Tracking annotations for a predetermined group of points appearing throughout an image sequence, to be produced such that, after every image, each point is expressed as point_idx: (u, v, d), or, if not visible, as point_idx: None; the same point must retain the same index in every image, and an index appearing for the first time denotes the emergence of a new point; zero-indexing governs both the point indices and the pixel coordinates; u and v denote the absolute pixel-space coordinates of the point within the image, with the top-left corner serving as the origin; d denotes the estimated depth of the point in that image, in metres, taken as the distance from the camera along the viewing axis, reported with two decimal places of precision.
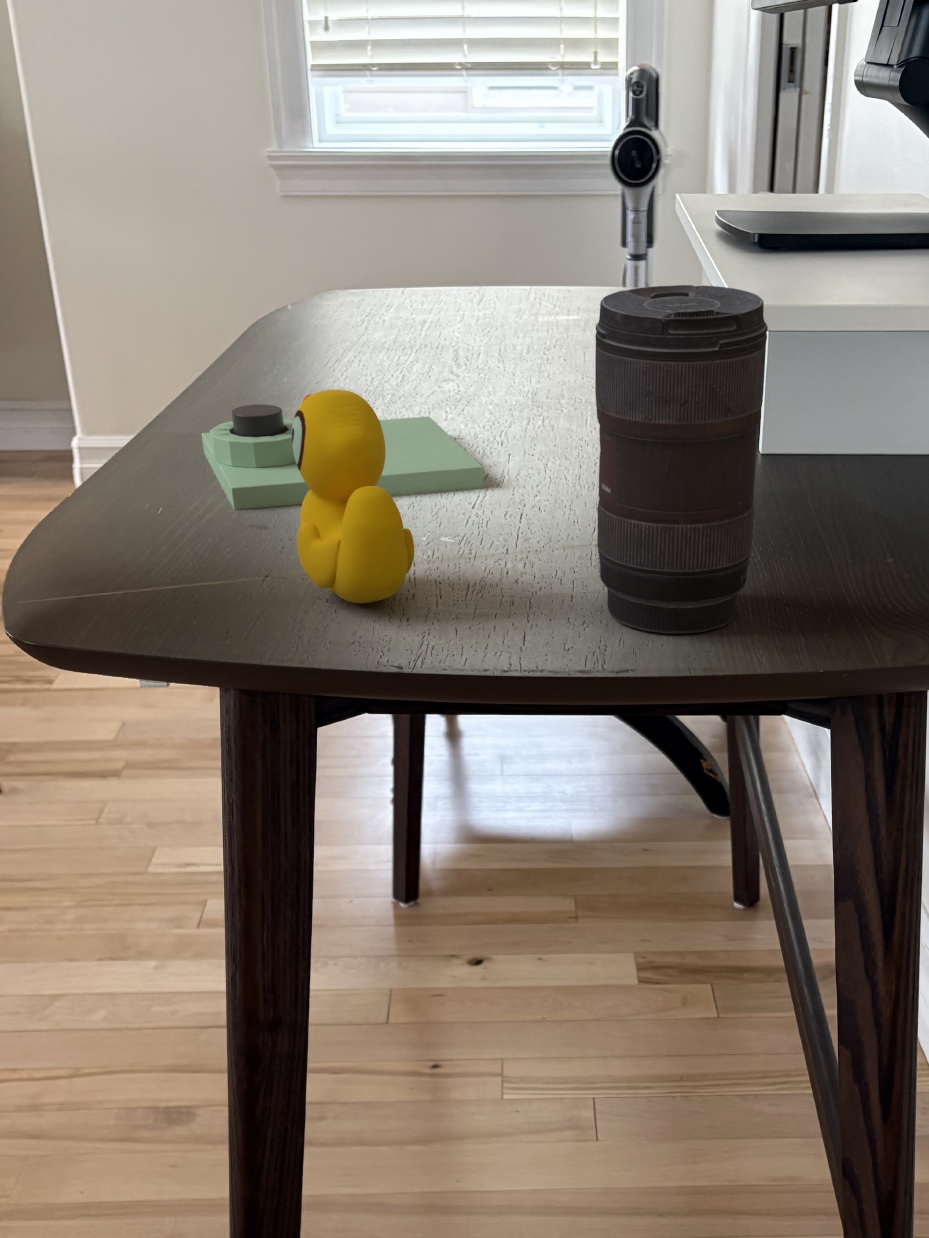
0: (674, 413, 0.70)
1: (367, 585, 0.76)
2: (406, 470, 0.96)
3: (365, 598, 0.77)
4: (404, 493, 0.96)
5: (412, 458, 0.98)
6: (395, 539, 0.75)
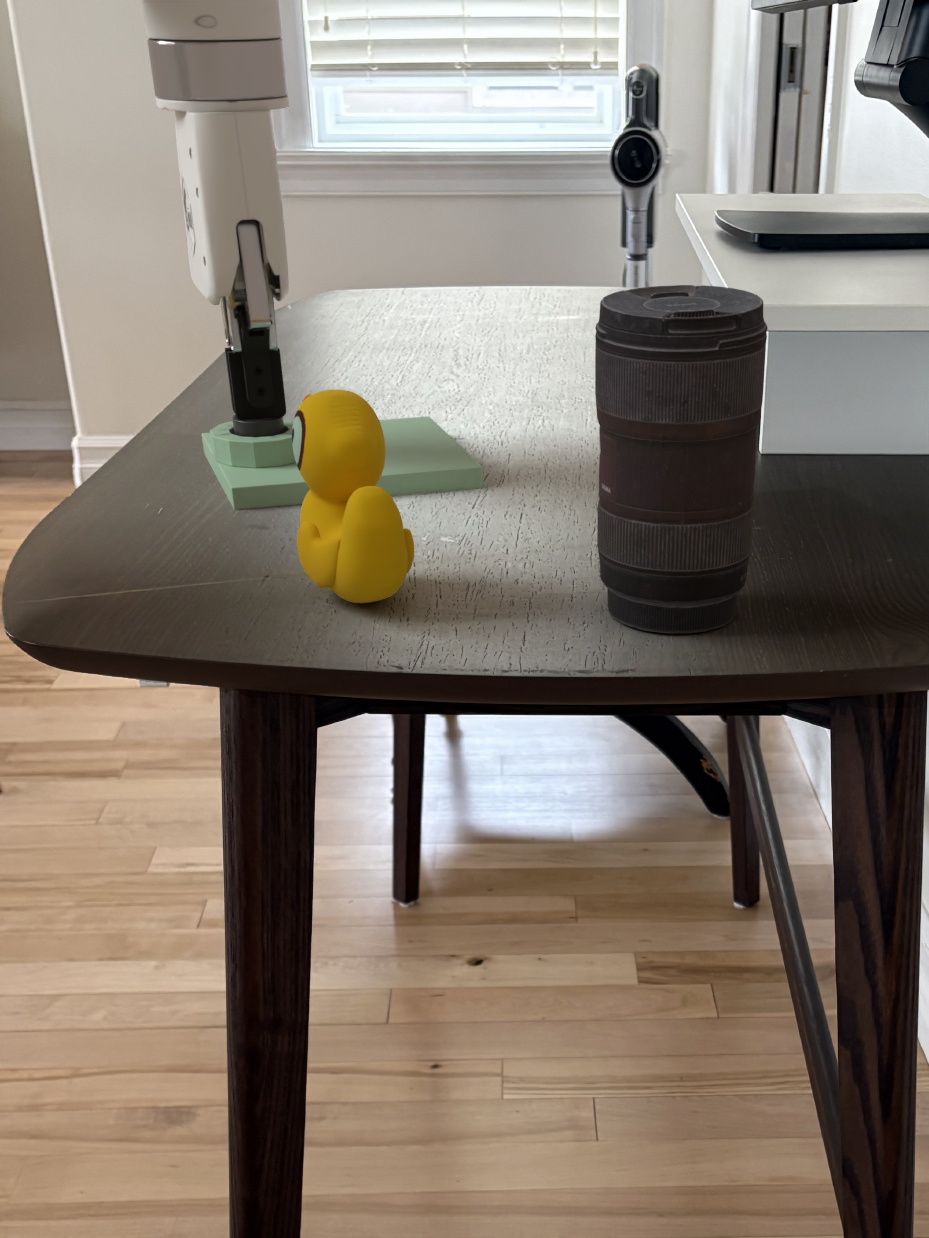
0: (674, 412, 0.70)
1: (367, 585, 0.76)
2: (406, 470, 0.96)
3: (365, 598, 0.77)
4: (404, 493, 0.96)
5: (412, 458, 0.98)
6: (395, 539, 0.75)
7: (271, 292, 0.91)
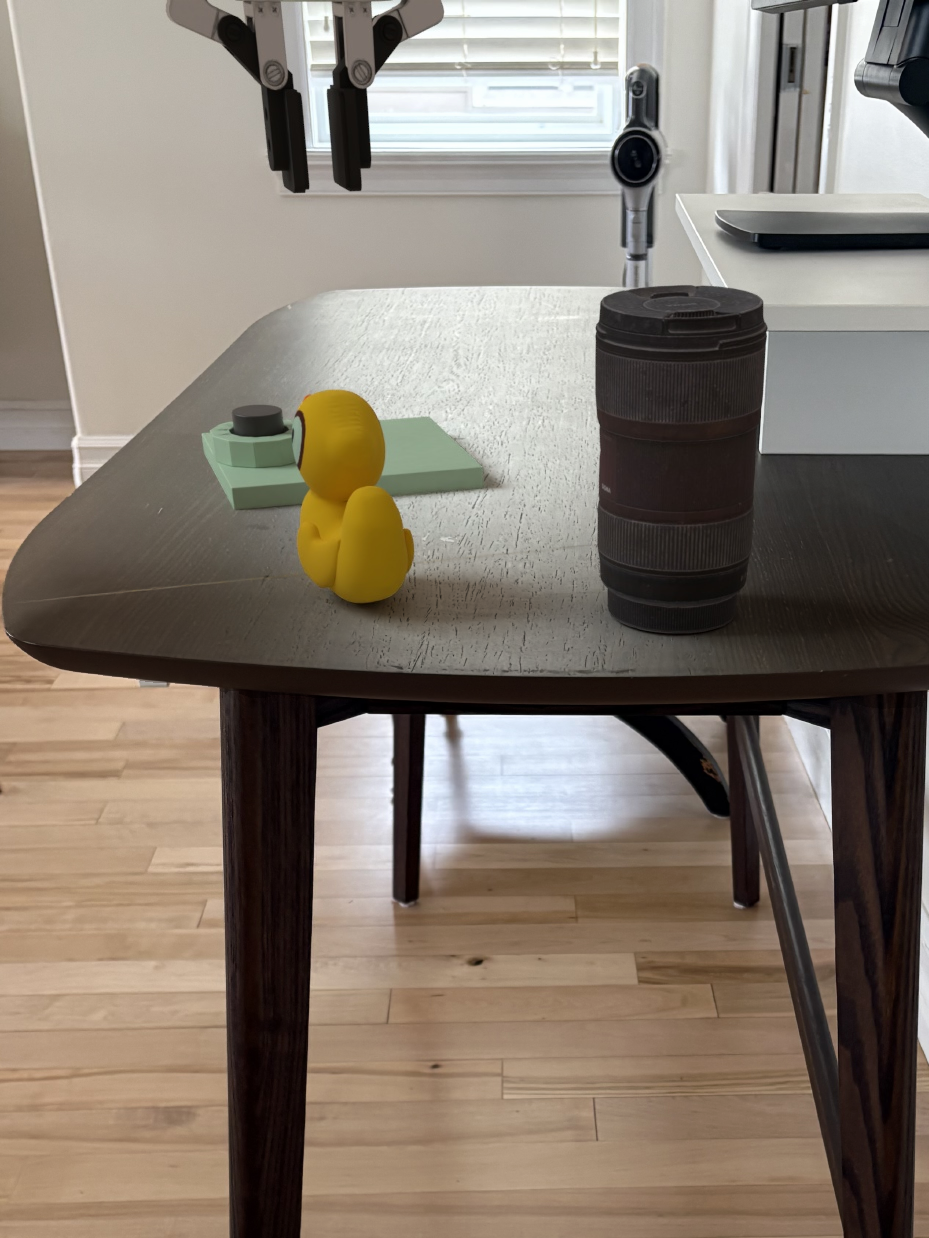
0: (674, 413, 0.70)
1: (367, 585, 0.76)
2: (406, 470, 0.96)
3: (365, 598, 0.77)
4: (404, 493, 0.96)
5: (412, 458, 0.98)
6: (395, 539, 0.75)
7: None
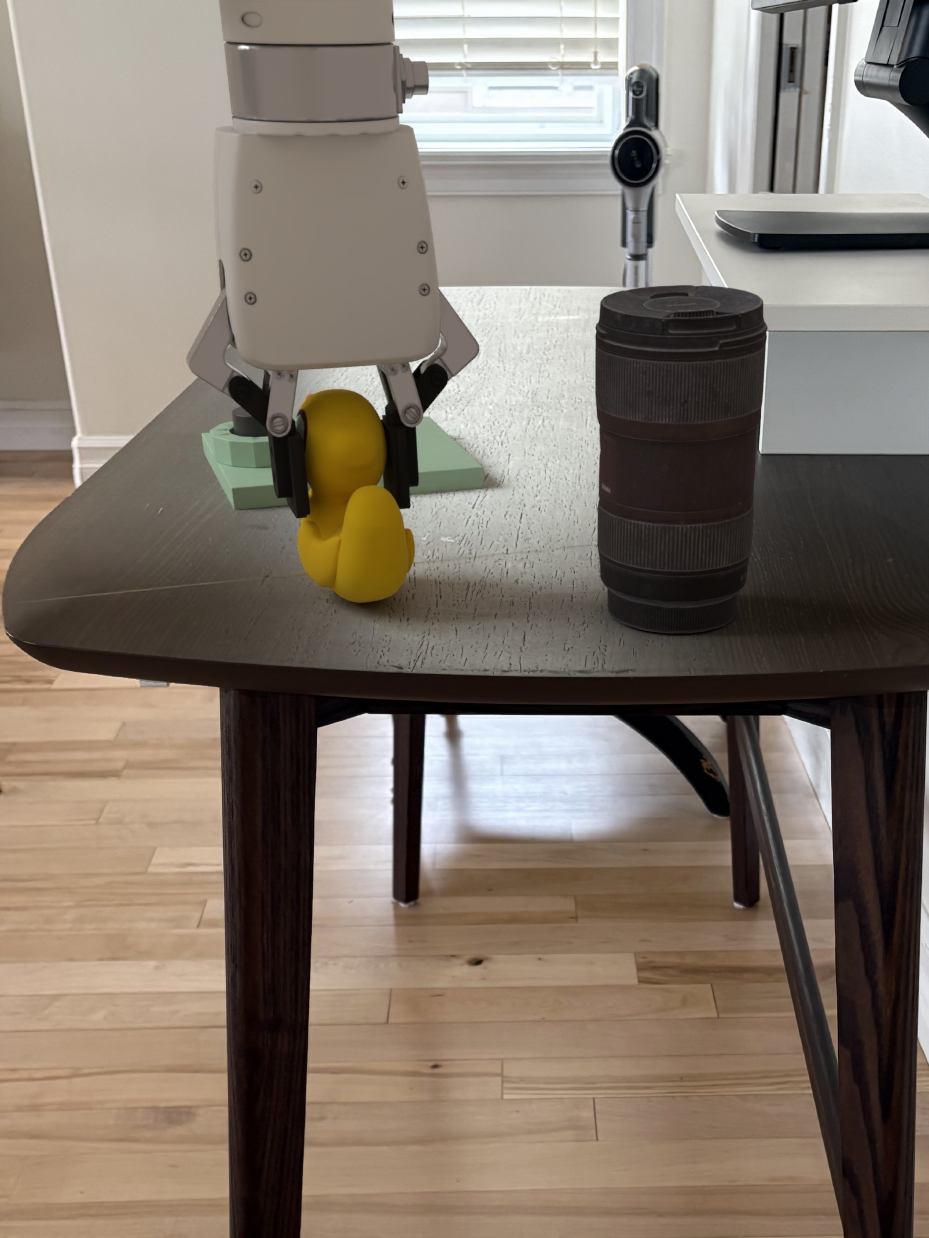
0: (674, 412, 0.70)
1: (367, 584, 0.76)
2: None
3: (365, 597, 0.77)
4: None
5: None
6: (396, 539, 0.75)
7: None
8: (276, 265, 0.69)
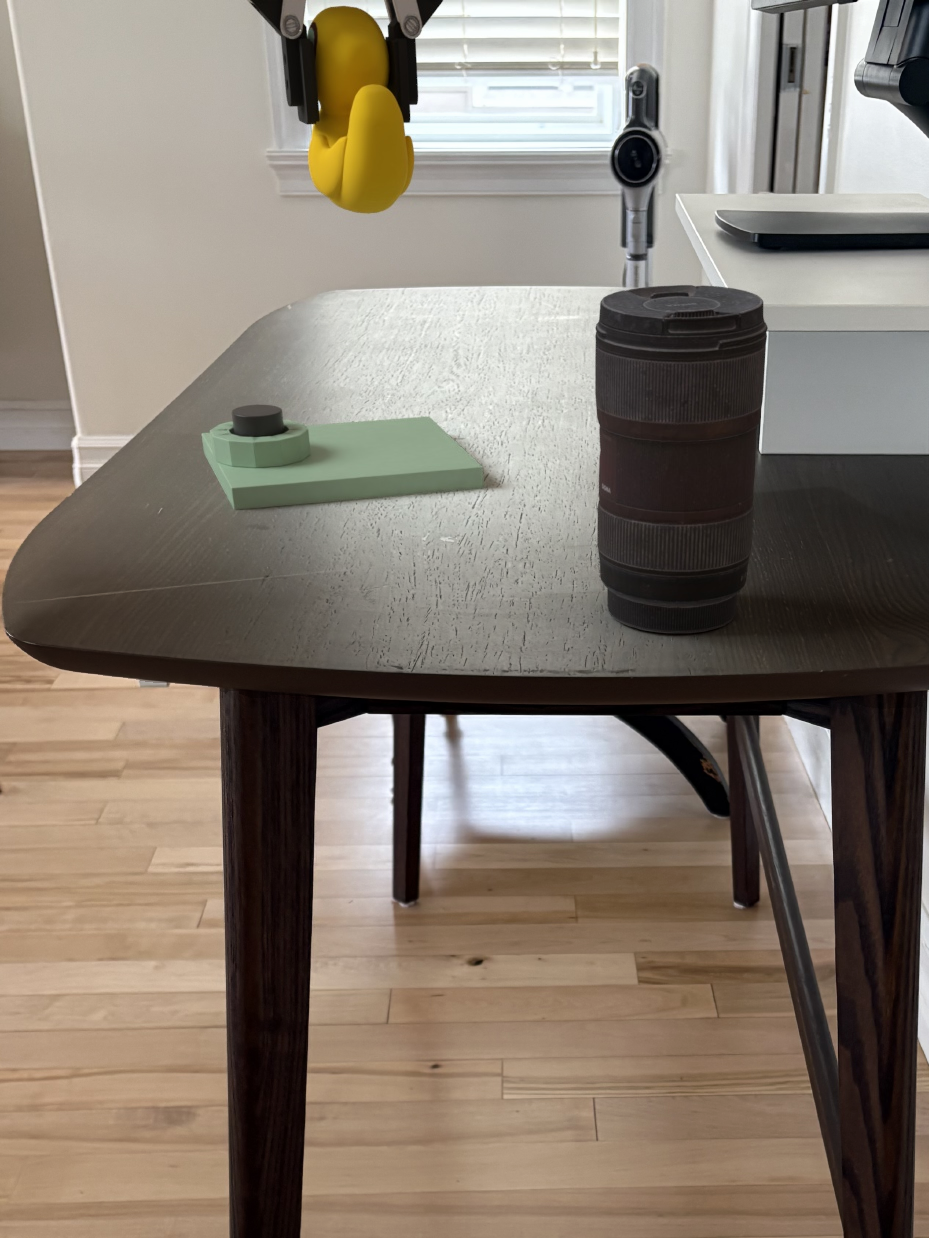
0: (674, 413, 0.70)
1: (370, 181, 0.84)
2: (406, 470, 0.96)
3: (369, 199, 0.85)
4: (404, 493, 0.96)
5: (412, 458, 0.98)
6: (397, 135, 0.83)
7: None
8: None
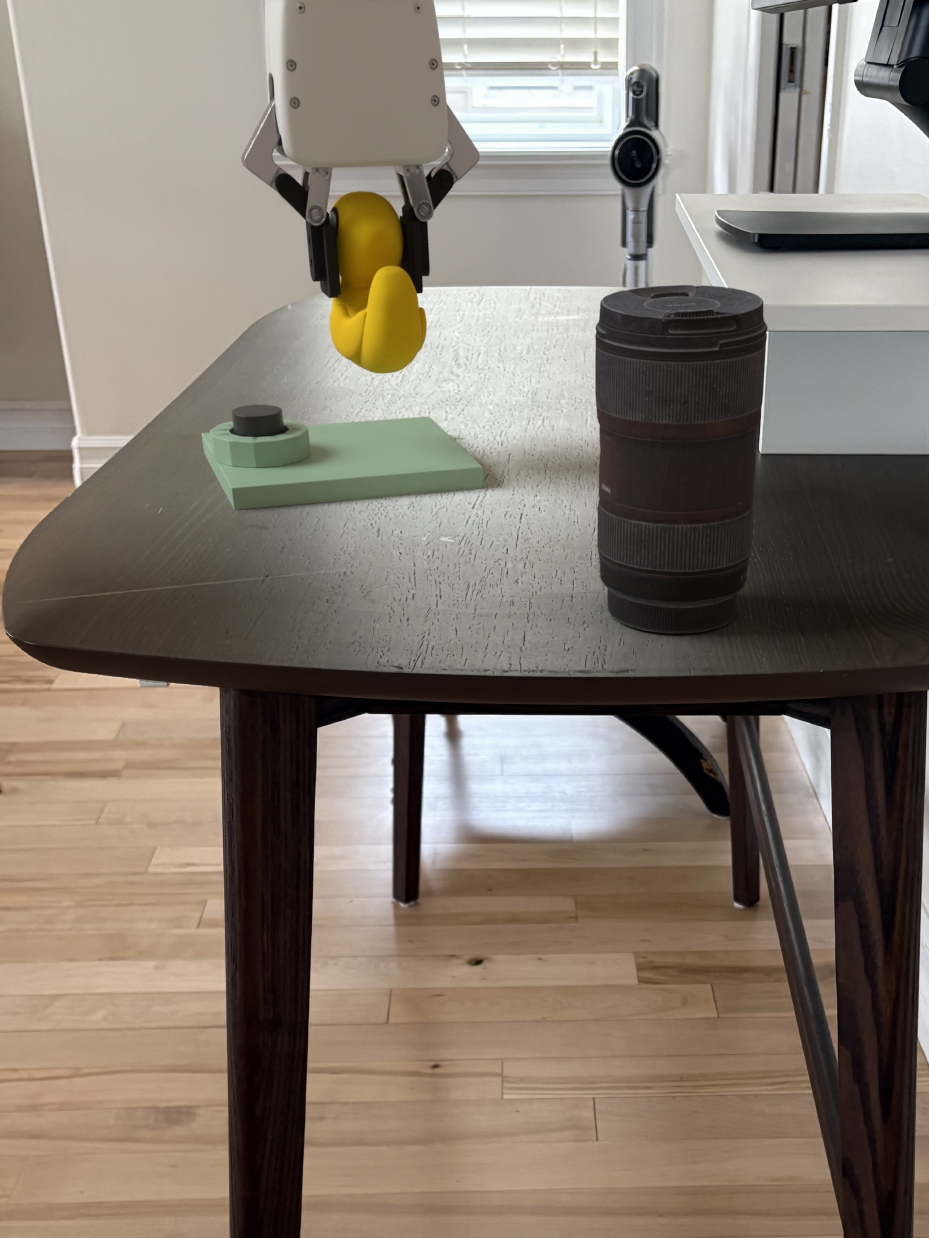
0: (674, 413, 0.70)
1: (387, 350, 0.93)
2: (406, 470, 0.96)
3: (386, 364, 0.94)
4: (404, 493, 0.96)
5: (412, 458, 0.98)
6: (412, 311, 0.92)
7: None
8: (316, 75, 0.86)
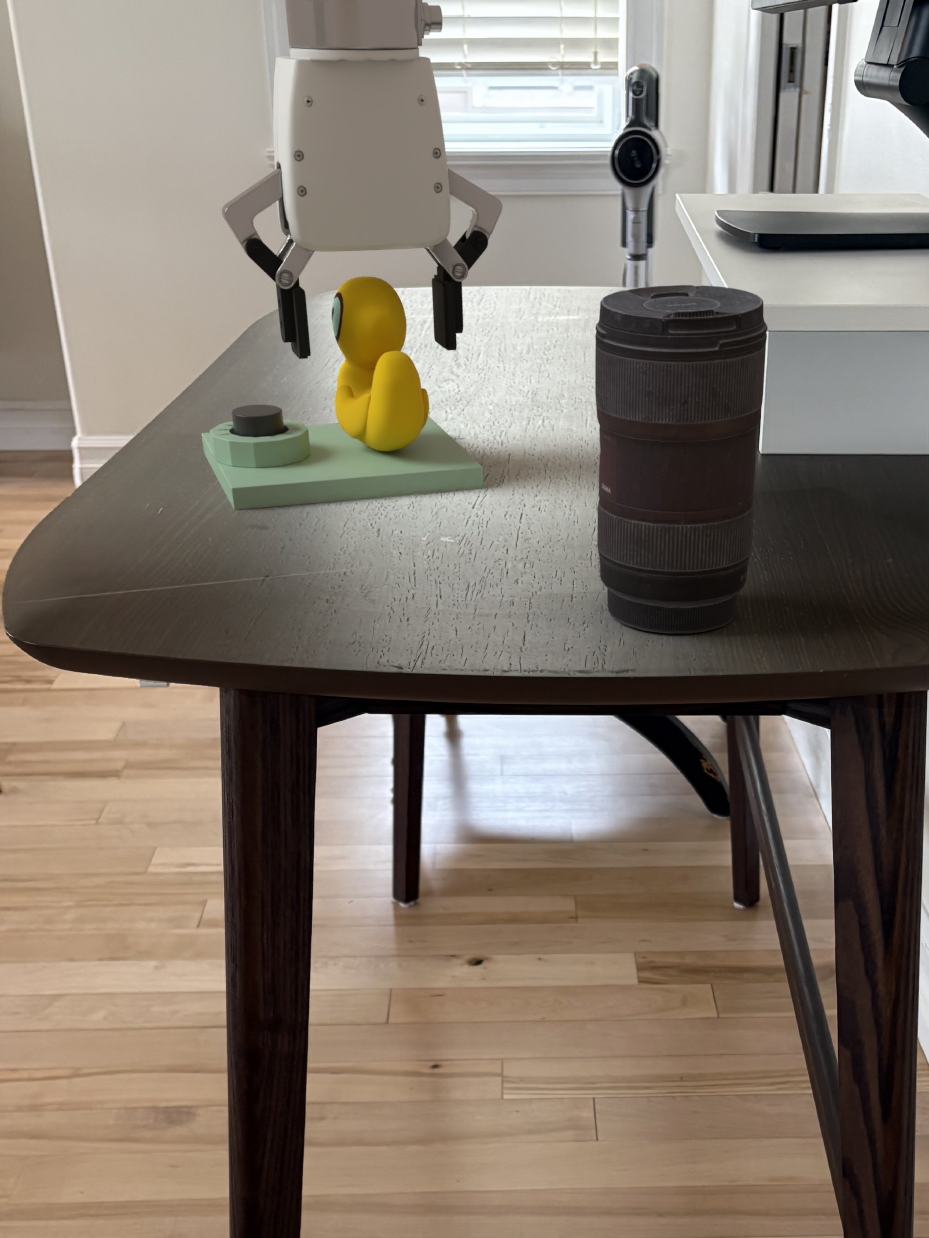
0: (674, 413, 0.70)
1: (391, 432, 0.96)
2: (406, 470, 0.96)
3: (390, 444, 0.97)
4: (404, 493, 0.96)
5: (412, 458, 0.98)
6: (414, 394, 0.94)
7: None
8: (322, 164, 0.88)
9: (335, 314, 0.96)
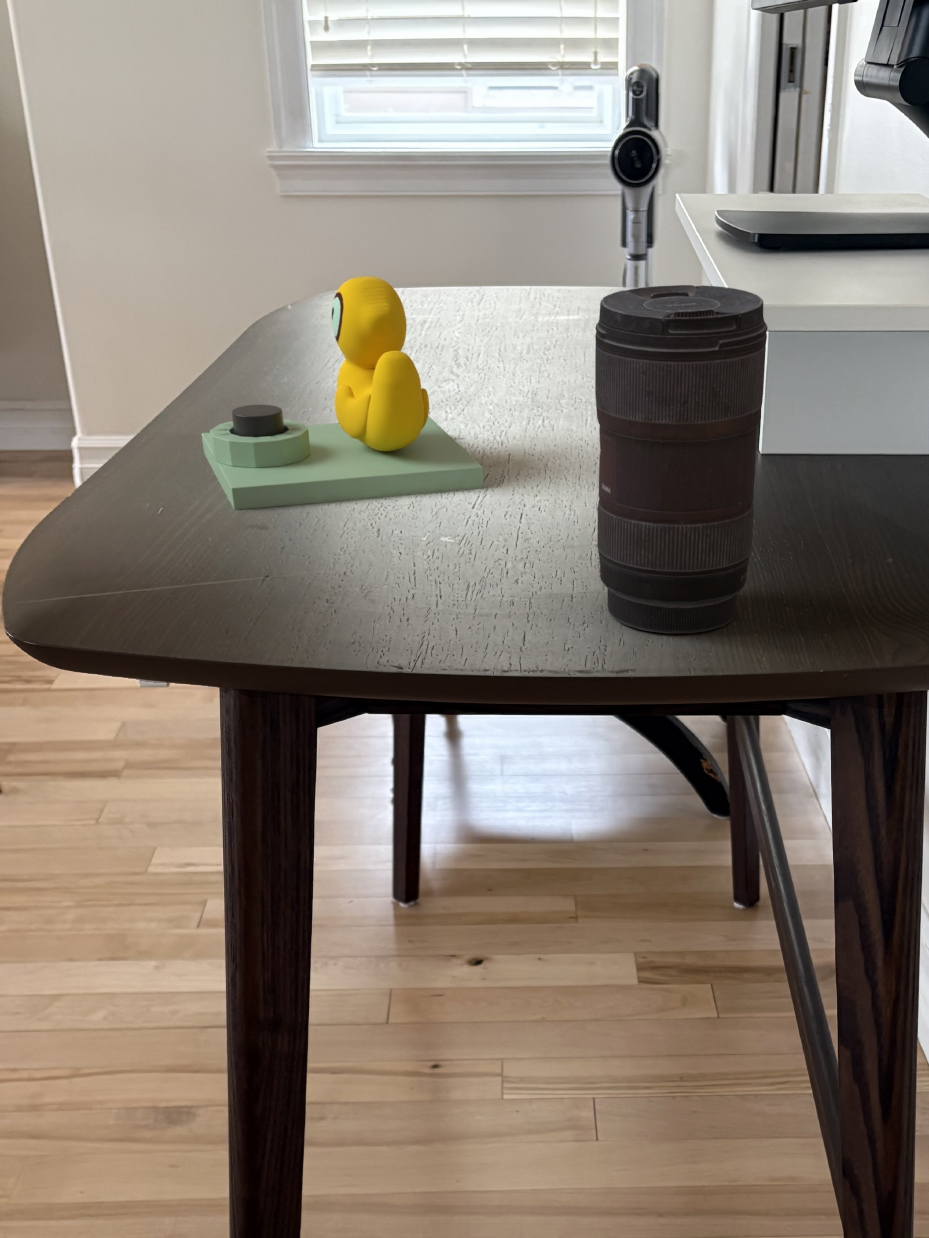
0: (674, 412, 0.70)
1: (391, 432, 0.96)
2: (406, 470, 0.96)
3: (390, 444, 0.97)
4: (404, 493, 0.96)
5: (412, 458, 0.98)
6: (414, 394, 0.94)
7: None
8: None
9: (335, 314, 0.96)
